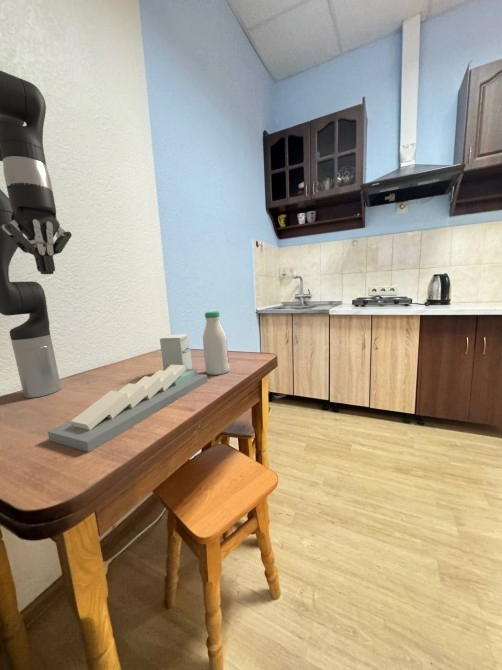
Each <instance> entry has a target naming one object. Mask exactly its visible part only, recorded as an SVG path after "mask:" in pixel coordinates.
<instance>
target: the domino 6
mask: <svg viewBox="0 0 502 670" xmlns="http://www.w3.org/2000/svg"><path fill="white" fill-rule="evenodd" d="M197 374H198V369H193V368H192V369H186V370H185V371H184V372H183V373H182V374H181V375H180V376H179V377H178V378H177V379H176V380H175V381H174V382H173V383H172V384H171V385H175V386H176V385H178V384H180V383H182V382H183V381H185V380H187V379H189V378H191V377H193V376H195V375H197Z"/></svg>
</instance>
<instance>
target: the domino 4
mask: <svg viewBox="0 0 502 670" xmlns="http://www.w3.org/2000/svg"><path fill="white" fill-rule="evenodd" d="M173 376H174V373H173V371H164V369H163V370H161V369H159V370H157V371H156V372H155V373H154V374H152V375H151V376H150V377H158V378H160V381H161V383H160V384H159V385H157V386H156V387H155V388H154V389H153V390H152V391H151V392H150V393H149V394H148V395H147V396H145V397H144V398H143V399H150V398H151V397H152V396H154V395H155V394H156V393H157V392H158V391H159V390H160V389H161V388H162V387H163V386H164V385H165V384H166V383H167V382H168V381H169V380H170V379H171V378H172V377H173Z"/></svg>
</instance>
